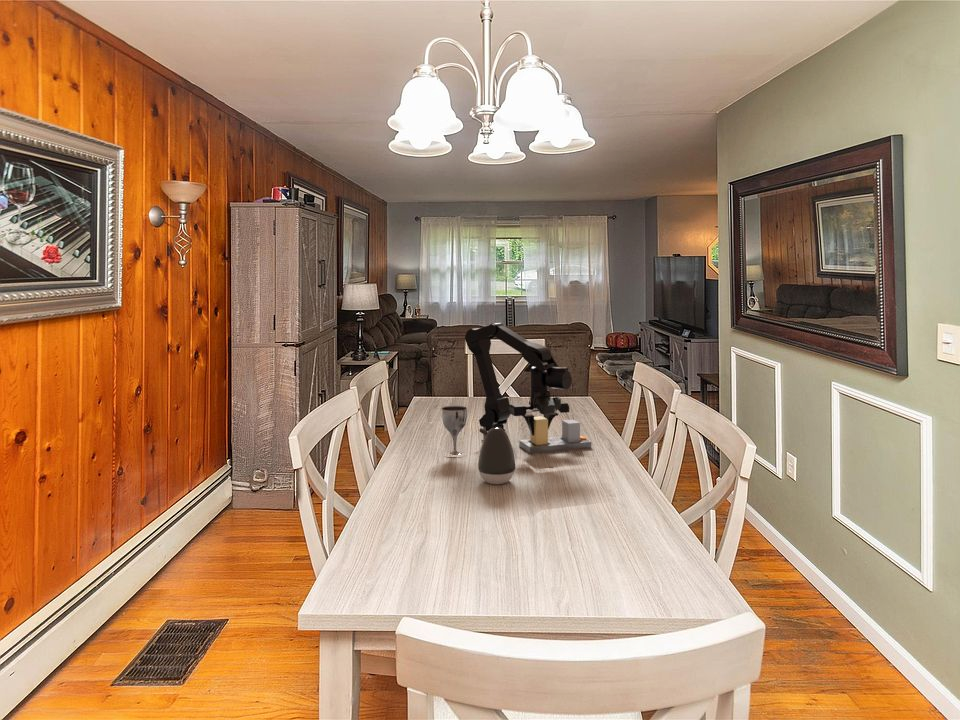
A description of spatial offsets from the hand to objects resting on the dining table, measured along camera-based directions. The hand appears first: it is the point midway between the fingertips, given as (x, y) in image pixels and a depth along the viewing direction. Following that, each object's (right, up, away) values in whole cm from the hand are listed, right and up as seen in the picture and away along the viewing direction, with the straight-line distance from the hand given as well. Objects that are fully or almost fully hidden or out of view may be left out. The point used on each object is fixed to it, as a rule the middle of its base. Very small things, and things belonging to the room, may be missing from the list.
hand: (539, 434), depth 212 cm
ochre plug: (0, -3, 0) cm, 2 cm away
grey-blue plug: (+11, -4, +4) cm, 12 cm away
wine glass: (-27, -6, -2) cm, 27 cm away
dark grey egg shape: (-14, -10, -29) cm, 34 cm away
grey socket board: (+5, -5, +2) cm, 8 cm away
